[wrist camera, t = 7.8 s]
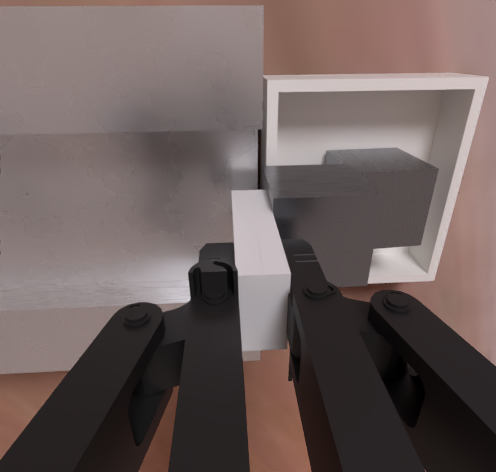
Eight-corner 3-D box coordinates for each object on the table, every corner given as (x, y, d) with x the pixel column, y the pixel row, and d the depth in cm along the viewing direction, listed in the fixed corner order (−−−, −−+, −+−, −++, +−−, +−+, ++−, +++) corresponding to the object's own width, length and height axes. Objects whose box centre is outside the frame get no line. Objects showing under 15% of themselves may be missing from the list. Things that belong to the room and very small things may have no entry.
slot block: (252, 292, 25) (260, 360, 19) (-88, 307, 24) (-178, 383, 18) (250, 18, 17) (263, 5, 12) (-243, 20, 16) (-469, 8, 11)
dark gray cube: (339, 240, 19) (366, 285, 15) (261, 243, 18) (270, 290, 15) (349, 163, 17) (383, 194, 13) (262, 165, 17) (273, 198, 13)
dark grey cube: (320, 217, 22) (384, 213, 22) (344, 251, 18) (420, 245, 19) (326, 150, 20) (396, 147, 20) (354, 173, 16) (439, 168, 17)
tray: (410, 254, 24) (434, 280, 21) (259, 261, 24) (264, 288, 21) (452, 72, 19) (489, 76, 16) (261, 75, 19) (267, 80, 16)
